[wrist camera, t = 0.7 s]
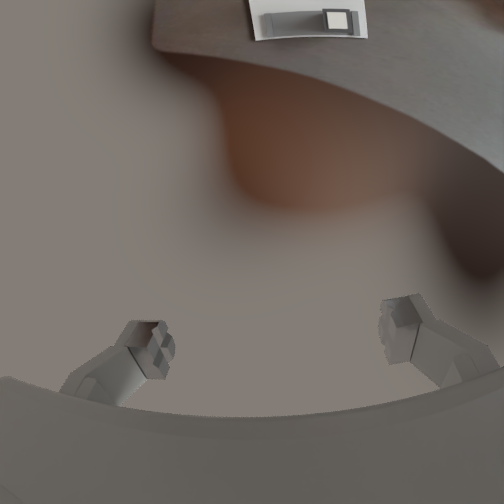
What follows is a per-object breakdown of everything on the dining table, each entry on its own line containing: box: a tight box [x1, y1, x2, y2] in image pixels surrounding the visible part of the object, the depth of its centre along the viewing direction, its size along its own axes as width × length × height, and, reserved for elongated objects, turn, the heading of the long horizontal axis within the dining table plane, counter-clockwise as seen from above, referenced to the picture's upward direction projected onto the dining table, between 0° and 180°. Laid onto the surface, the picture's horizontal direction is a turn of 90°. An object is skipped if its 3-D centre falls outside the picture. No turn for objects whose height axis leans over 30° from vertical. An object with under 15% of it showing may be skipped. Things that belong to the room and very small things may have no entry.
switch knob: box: [322, 9, 352, 33], centre depth 29 cm, size 4×4×9 cm
